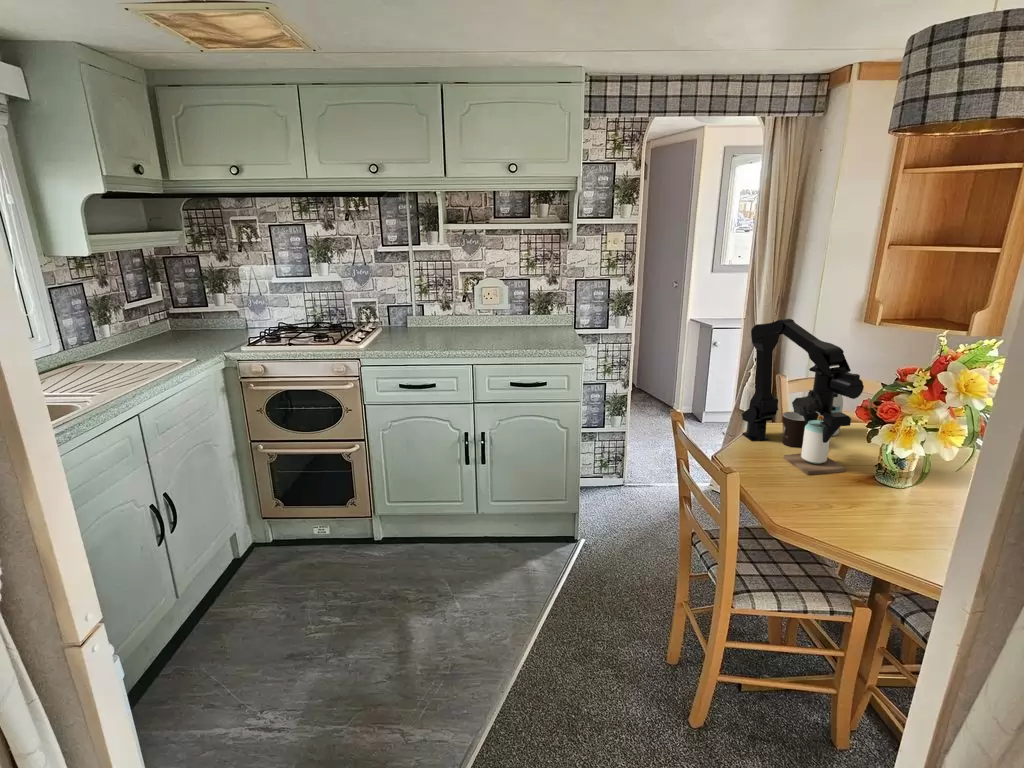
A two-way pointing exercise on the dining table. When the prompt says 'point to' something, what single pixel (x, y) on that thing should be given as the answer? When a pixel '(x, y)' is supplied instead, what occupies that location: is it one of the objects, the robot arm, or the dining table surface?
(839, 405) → the milk bottle
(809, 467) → the base board
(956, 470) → the dining table surface
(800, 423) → the coffee mug
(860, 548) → the dining table surface
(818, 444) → the can
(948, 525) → the dining table surface
